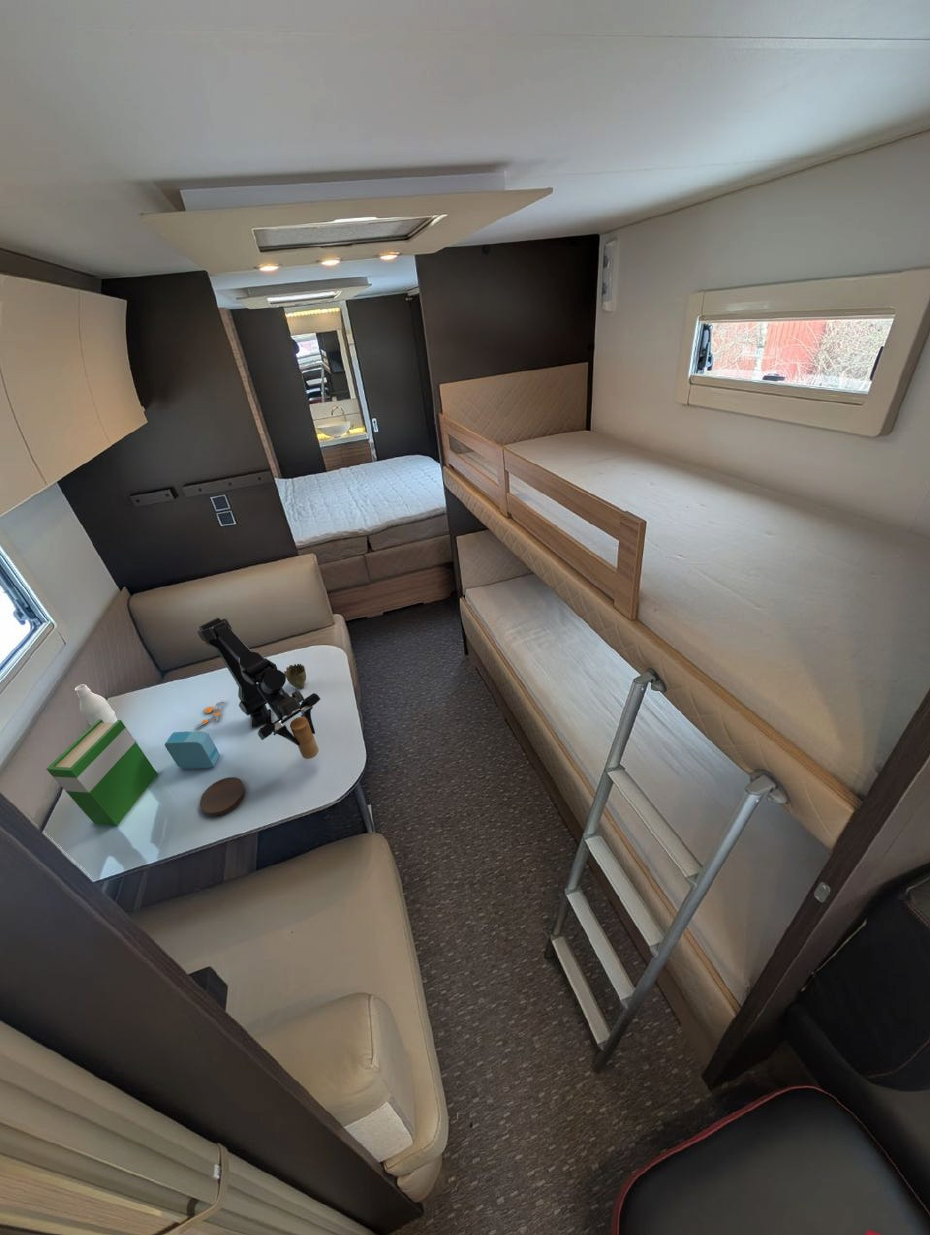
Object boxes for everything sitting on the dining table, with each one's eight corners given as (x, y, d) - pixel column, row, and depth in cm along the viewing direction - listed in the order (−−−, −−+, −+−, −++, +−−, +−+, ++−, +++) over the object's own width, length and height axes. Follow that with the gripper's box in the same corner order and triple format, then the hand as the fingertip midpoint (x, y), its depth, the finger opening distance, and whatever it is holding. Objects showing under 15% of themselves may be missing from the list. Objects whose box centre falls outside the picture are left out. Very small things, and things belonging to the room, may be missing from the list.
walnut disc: (204, 790, 143) (201, 785, 141) (246, 775, 146) (243, 771, 144) (200, 823, 133) (197, 819, 132) (245, 807, 136) (243, 803, 135)
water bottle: (133, 740, 163) (96, 685, 149) (110, 753, 159) (69, 698, 145) (127, 730, 167) (90, 676, 154) (104, 743, 163) (64, 688, 149)
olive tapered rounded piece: (304, 693, 175) (298, 676, 171) (286, 692, 177) (279, 675, 172) (313, 680, 181) (307, 663, 177) (296, 678, 183) (290, 662, 178)
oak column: (301, 749, 145) (289, 719, 138) (317, 743, 146) (306, 714, 139) (302, 761, 141) (290, 731, 134) (319, 755, 142) (308, 726, 135)
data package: (221, 756, 153) (207, 730, 146) (215, 768, 149) (199, 742, 143) (186, 757, 154) (170, 731, 147) (179, 769, 150) (162, 743, 144)
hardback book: (137, 773, 151) (98, 719, 137) (158, 774, 149) (120, 719, 136) (94, 824, 136) (46, 769, 123) (116, 825, 135) (70, 770, 122)
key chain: (209, 703, 175) (208, 702, 175) (228, 702, 175) (228, 700, 174) (193, 729, 164) (192, 728, 164) (214, 727, 164) (213, 726, 164)
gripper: (248, 708, 127) (282, 756, 127) (308, 671, 138) (339, 715, 138) (244, 717, 136) (276, 761, 136) (301, 681, 147) (330, 722, 147)
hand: (306, 739), depth 139 cm, fingers closed on oak column, 5 cm apart
